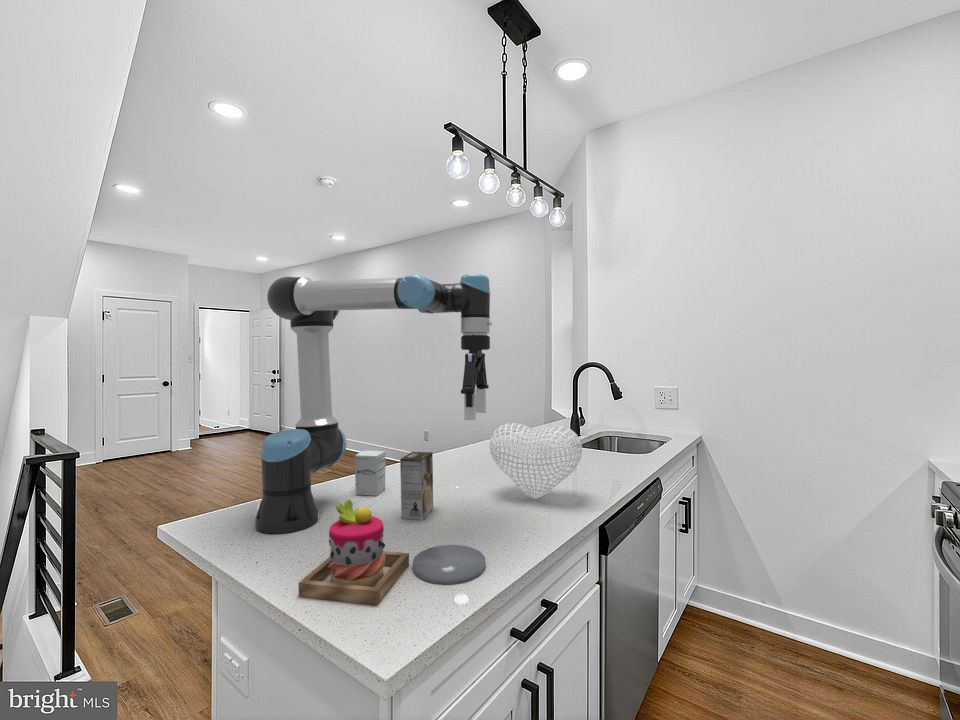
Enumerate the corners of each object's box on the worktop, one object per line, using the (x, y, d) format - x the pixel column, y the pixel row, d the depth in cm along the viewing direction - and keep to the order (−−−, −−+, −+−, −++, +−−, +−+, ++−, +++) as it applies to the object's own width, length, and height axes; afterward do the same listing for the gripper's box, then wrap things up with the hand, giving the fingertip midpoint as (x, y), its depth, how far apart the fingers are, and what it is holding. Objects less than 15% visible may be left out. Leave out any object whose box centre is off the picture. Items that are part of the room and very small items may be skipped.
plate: (401, 580, 89) (401, 574, 89) (426, 547, 104) (426, 542, 104) (476, 587, 86) (476, 581, 86) (491, 553, 101) (491, 547, 101)
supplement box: (354, 495, 142) (354, 454, 142) (364, 488, 149) (364, 449, 149) (377, 496, 141) (376, 455, 141) (386, 489, 148) (385, 450, 148)
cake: (390, 567, 95) (389, 495, 94) (377, 594, 84) (375, 513, 84) (340, 566, 95) (339, 494, 95) (320, 593, 85) (319, 512, 84)
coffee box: (412, 507, 131) (411, 451, 131) (433, 508, 130) (433, 451, 130) (400, 518, 122) (399, 458, 122) (423, 520, 121) (422, 459, 121)
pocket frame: (298, 596, 84) (298, 582, 84) (341, 558, 99) (341, 547, 99) (377, 605, 80) (377, 591, 80) (409, 565, 96) (408, 553, 95)
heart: (481, 500, 137) (481, 425, 136) (501, 485, 151) (500, 418, 150) (575, 513, 125) (575, 431, 125) (587, 496, 139) (586, 423, 139)
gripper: (480, 332, 107) (480, 424, 107) (497, 336, 131) (497, 410, 131) (449, 333, 108) (449, 423, 108) (471, 336, 132) (471, 409, 133)
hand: (475, 416), depth 120 cm, fingers open, 13 cm apart
